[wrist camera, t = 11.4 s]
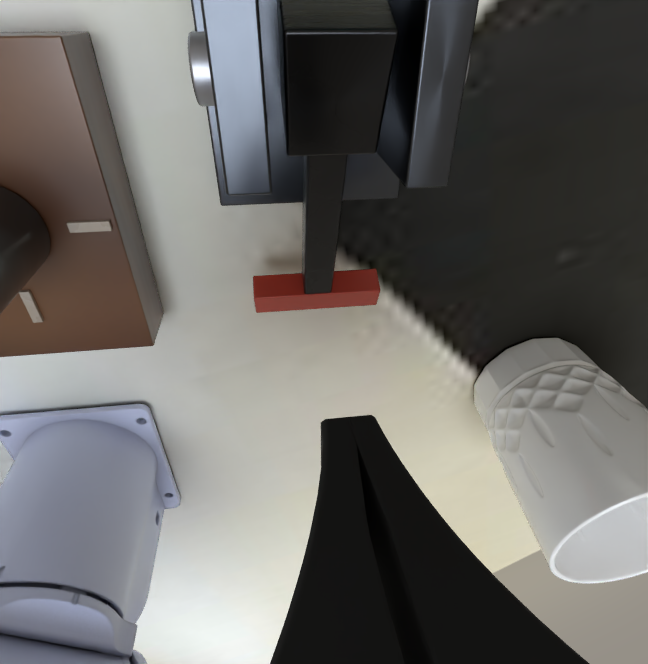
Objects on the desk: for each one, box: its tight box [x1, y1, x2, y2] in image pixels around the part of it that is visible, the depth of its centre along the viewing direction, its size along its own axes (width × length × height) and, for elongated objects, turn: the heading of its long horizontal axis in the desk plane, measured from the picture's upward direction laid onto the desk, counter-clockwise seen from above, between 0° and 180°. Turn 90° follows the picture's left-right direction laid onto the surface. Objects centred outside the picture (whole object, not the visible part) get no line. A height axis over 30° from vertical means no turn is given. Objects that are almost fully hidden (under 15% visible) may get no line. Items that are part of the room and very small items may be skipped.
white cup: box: [474, 338, 648, 583], centre depth 22 cm, size 8×8×10 cm
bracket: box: [188, 0, 479, 206], centre depth 12 cm, size 10×7×8 cm
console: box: [0, 32, 164, 357], centre depth 16 cm, size 11×8×3 cm
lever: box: [253, 0, 399, 313], centre depth 13 cm, size 11×5×2 cm, turn 179°
